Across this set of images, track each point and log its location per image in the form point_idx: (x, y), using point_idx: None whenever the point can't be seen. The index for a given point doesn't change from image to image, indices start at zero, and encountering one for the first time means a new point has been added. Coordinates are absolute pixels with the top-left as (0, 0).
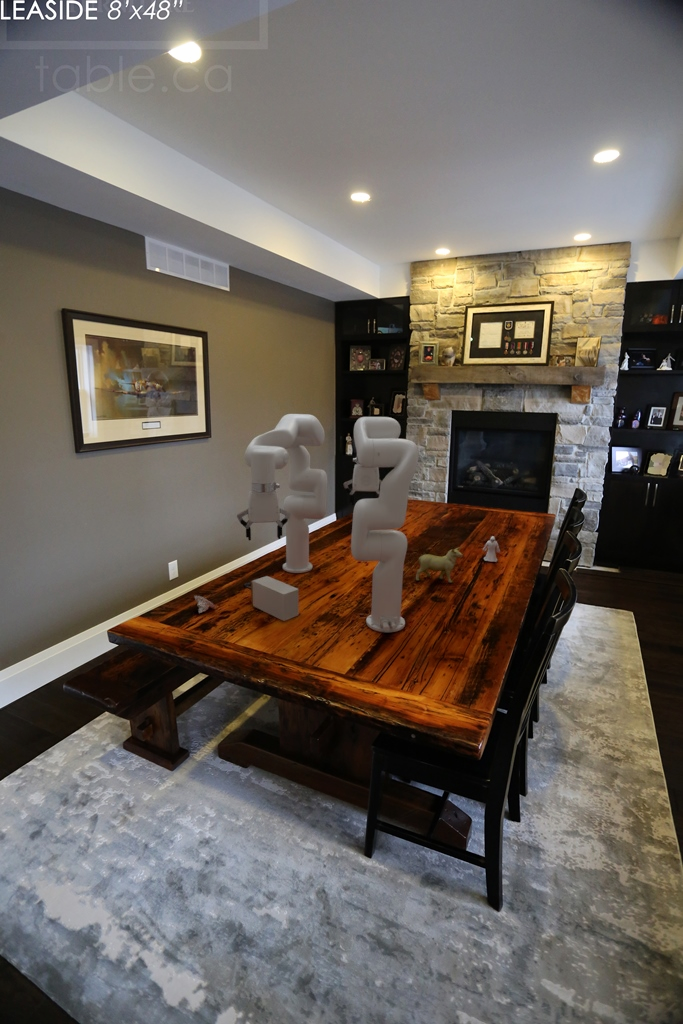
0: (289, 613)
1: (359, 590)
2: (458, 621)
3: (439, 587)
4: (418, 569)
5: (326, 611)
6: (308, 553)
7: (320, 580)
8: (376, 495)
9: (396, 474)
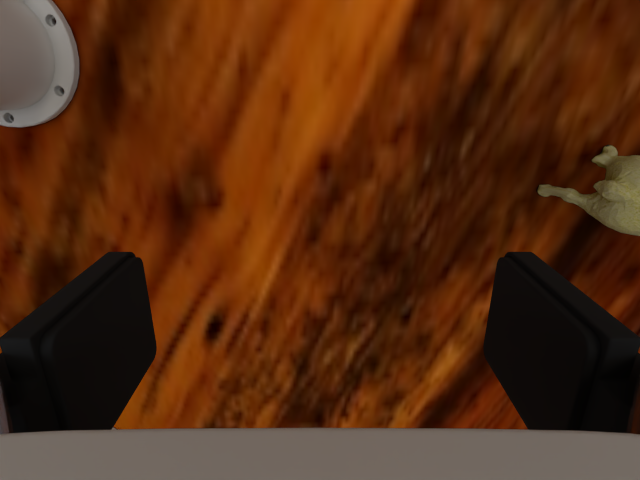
0: None
1: (302, 283)
2: None
3: (604, 245)
4: (571, 197)
5: (207, 420)
6: (7, 58)
7: (147, 198)
8: (577, 335)
9: None
